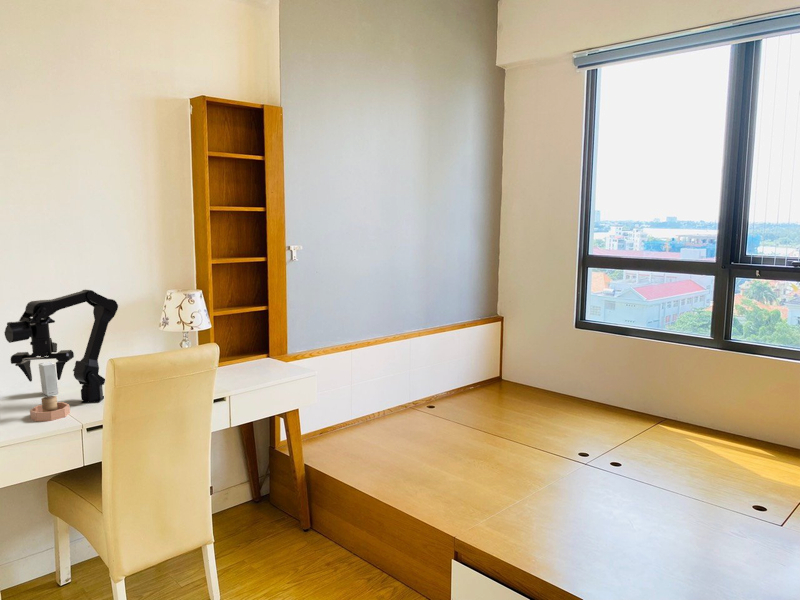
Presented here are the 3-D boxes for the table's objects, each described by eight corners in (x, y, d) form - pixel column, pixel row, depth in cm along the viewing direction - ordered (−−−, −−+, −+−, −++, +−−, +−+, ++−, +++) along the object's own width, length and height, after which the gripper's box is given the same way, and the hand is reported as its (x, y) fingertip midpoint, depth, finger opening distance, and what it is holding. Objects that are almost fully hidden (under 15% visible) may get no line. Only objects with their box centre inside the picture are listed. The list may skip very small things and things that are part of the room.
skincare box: (59, 393, 246) (56, 363, 244) (46, 396, 243) (43, 366, 241) (53, 390, 250) (50, 361, 249) (41, 393, 247) (38, 363, 245)
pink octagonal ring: (73, 409, 227) (72, 401, 226) (61, 420, 216) (60, 411, 216) (40, 411, 225) (39, 403, 225) (26, 421, 214) (25, 413, 214)
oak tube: (60, 413, 223) (58, 395, 222) (55, 417, 219) (53, 399, 218) (46, 413, 223) (44, 395, 222) (40, 418, 218) (39, 399, 217)
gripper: (76, 331, 229) (80, 372, 231) (21, 333, 226) (25, 375, 228) (66, 337, 218) (70, 381, 220) (7, 340, 215) (12, 384, 217)
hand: (45, 380), depth 222 cm, fingers open, 9 cm apart
